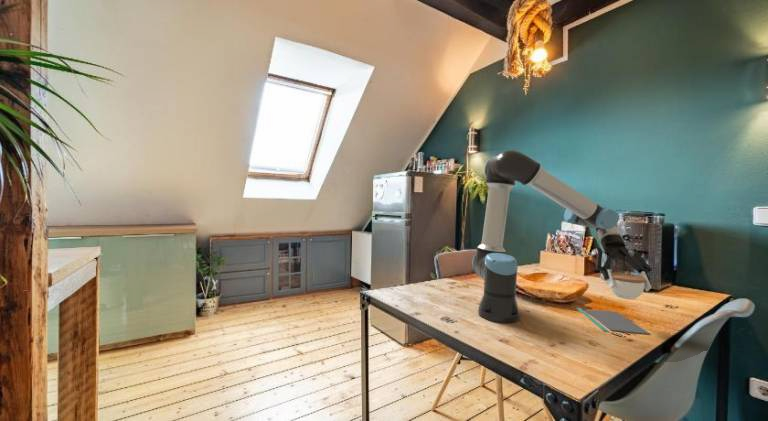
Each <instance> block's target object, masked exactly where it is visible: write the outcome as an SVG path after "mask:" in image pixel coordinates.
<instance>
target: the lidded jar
mask: <svg viewBox="0 0 768 421" xmlns="http://www.w3.org/2000/svg"><path fill="white" fill-rule="evenodd" d="M629 272H630V271H626V270H625V272H611V274H612V277H613V280H614V282H615V286H614V287H613V289H610V290H611V292H612V293H613V295H615V297H617V298H620V299H625V300H637V298H639V297H640V296H641V295H642V294H643V292H644V291H645V288H644V287H645V280H646V279H645V278H644V277H641V276H639V275H636V274H633V273H632V274H631V273H629Z"/></svg>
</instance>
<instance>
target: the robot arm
mask: <svg viewBox="0 0 768 421" xmlns="http://www.w3.org/2000/svg"><path fill="white" fill-rule="evenodd" d="M484 174H485V176H486V178H485V185H486V186H487V188H488V192H487V198H486V206H485V215H484V220H483V221H484V223H483V229H482V237H481V243H480V244H479V245H478V246H476V253H475V254H474V256H473V258H472V269H473V271H474V272H475V274H476V275H477V276H478V277H479V278H481V279H483V280H484V281H483V295H482V297H481V299H480V303H479V305H478V312H477V314H478V315H479V316H480V317H481V318H482V319H485V320H488V321H491V322H496V323H502V324H505V323H507V324H512V323H516V322H518V321H520V318H521V313H520V309H519V305H518V302H517V298H516V296H517V277H518V276H517V275H518V268H519V267H518V261H517V259H516V258H515V257H514V256H513V255H510V254H506V249H505V248H504V247H503V246H504V240H505V239H504V238H505V237H504V236H505V230H506V224H507V217H508V216H507V215H508V208H509V207H508V206H509V200H510V193H511V192H510V191H511V190H513V188H515V185H516V182H517V183H518V184H519V183H520V185H521V184H522V185H523V186H530V187H531V188H532V189H534V190H536V191H538V192H539V193H541V194H542V195H544V196H545V197H547V198H549V199H550V200H552V201H553V202H554V203H556V204H558V205H560V206H561V207H563V208H565V210H564V214H563V218H564V221H565V222H566V223H568V224H571V225H575V226H576V225H577V226H582V227H587V228H591V229H595V232H596V233H597V237H598V240H599V241H600V244H601V247H602V248H601V247H600V246H599V247H597V248H596V249H595V255H596V257H595V268H594V270H595V271H597V272H598V271H599V272H600V274H601V275H602V276H603V278H604V280H606V281H607V284H608V287H609V289H610V290H611V289H613V287H614V286H615V282H614V280H613V277H612V274H611V273H612V272H611V270H610V269H609V268H608V267H609V265H610V263H611V261H612V260H613V261H615V260H618V261H623V262H624V263H626V264H628V266H631V268H632V269H634V270H635V271H636V272H638V276H641V277H644V278H645V279H646V280H645V287H644V291H645V292H649V291H650V290H651V288H652V285H651V283H650V281H651V278H650V276H649V274H650V273H651V271H652V270H653V268H652V267H651V266H650V265H649V264H648V263H647V262H646V260H645V259H644V258H643V257H642V256H641V255H640V253H639V252H638V250H637V249H636V248H633V249H628V248H627V247H626V243H625V241H624V238H623V236H622V233H621V231H620V229H619V227H618V223H619V215H618V212H616V211H615V210H614V209H611V208H609V207H606V206H601V205H599V203H596V202H595V201H593V200H591V199H590V198H588V197H587V196H585V195H583V193H581V192H579V191H577V190H575V189H574V188H573V187H571V186H570V185H568V184H566V183H565V182H563V181H562V180H560V179H559V178H557V177H556V176H554V175H552V174H551V173H549V172H547V171H546V170H544V169H543V168H542V165H541V163H539V162H538V161H536V160H534V159H532V158H531V157H530V156H528V155H526V154H524V153H523V152H520V151H518V150H513V149H509V150H508V149H507V150H504V151H502V152H500V153H496V154H493V155H491V157H490V158H488V160H487V161H486V163H485V165H484ZM603 254H605V255H606V256H607V258H606V259H605V262H604V264H603V266H602V259H603Z"/></svg>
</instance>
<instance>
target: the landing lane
mask: <svg viewBox="0 0 768 421" xmlns="http://www.w3.org/2000/svg"><path fill="white" fill-rule="evenodd" d="M576 309H577V311H579V312H580V313H581V314H583V315H584V316H585V317H586V318H587V319H588V320H589V321H591V322H592V323H593V324H595V326H597V327H598V328H599V329H601V330H602V332H608V333H609V332H617V333H618V332H619V333H627V334H639V335H651V333H650V332H649V331H647V330H645V329H644V328H642V327H641V326H639V325H638V324H636V323H635V322H633V321H632V320H630V319H629V318H627V317H626V316H624V315H622V314H621V313H620V312H618V311H612V310H602V309H601V310H597V309H589V308H588V309H587V308H585V309H584V310H583V308H580V307H576Z"/></svg>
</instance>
